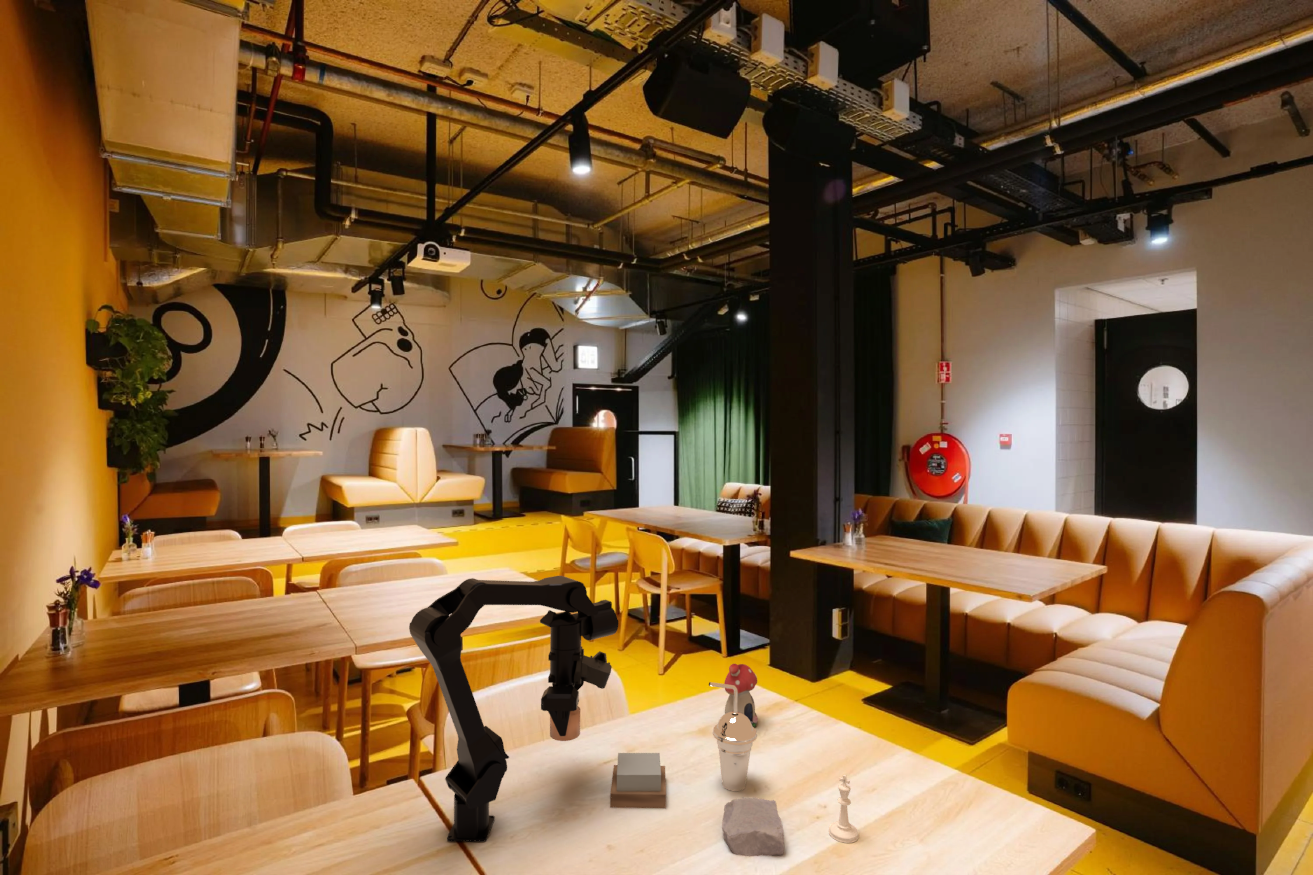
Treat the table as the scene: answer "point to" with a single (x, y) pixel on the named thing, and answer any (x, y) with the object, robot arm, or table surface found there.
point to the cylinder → (572, 728)
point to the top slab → (638, 772)
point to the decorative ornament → (741, 691)
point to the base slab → (638, 795)
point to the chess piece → (843, 817)
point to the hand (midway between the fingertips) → (564, 728)
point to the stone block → (753, 827)
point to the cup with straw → (734, 744)
